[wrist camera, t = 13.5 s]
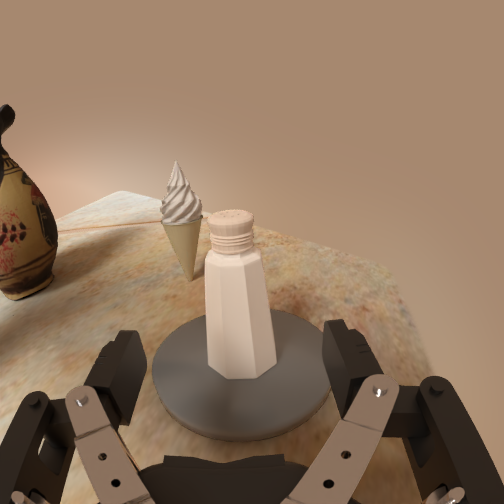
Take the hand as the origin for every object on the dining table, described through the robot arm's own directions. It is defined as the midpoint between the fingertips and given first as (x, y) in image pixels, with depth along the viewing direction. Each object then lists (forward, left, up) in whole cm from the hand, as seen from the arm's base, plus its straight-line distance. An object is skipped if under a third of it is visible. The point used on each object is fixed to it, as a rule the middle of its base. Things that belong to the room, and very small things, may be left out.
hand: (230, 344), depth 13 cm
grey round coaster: (-6, +5, -9) cm, 12 cm away
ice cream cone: (-23, +10, -9) cm, 27 cm away
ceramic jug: (-39, -12, -9) cm, 42 cm away
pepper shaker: (-6, +5, -8) cm, 11 cm away
